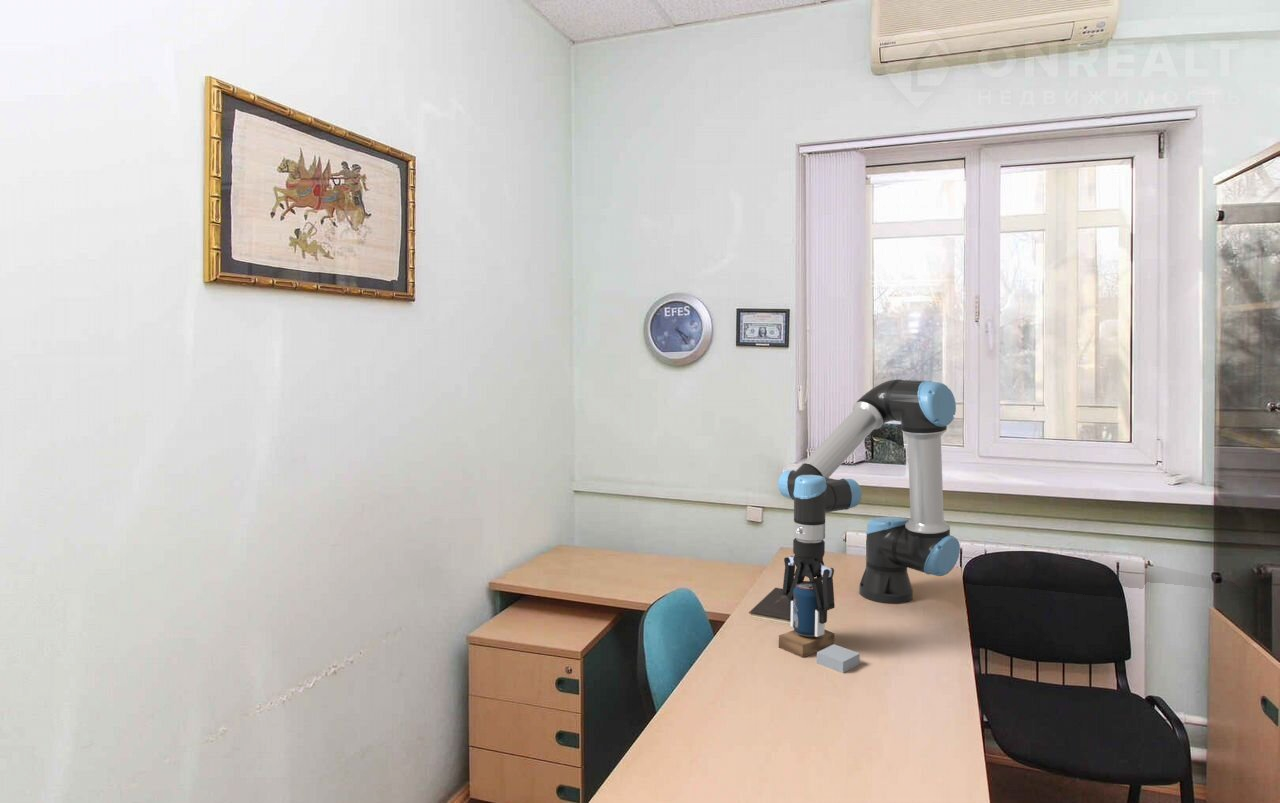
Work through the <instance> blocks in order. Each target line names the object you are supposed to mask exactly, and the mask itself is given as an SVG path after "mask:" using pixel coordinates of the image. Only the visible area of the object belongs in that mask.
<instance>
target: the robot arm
mask: <svg viewBox="0 0 1280 803" xmlns="http://www.w3.org/2000/svg"><path fill="white" fill-rule="evenodd" d="M956 412H957V403H956V399H955V396H954V392H952V390H951V388H949V387H948V385H946V384H944V383H943V382H938V381H937V382H936V381H931V380H917V379H916V380H914V379H911V380H909V379H891V380H887V381H884V382H881V383H880V384H877V385H876V386H874V387H873V388H871V389H870V390H869V391H867V392H865V393H864V394H863V395H862V396H861V397H860V398H859V399H857V401H856V402H855V403H854V404H853V405H852V411H851V412H850V414H848V416H847V417H845V419H844V420H843V421H842V422H841V423H840V424H839V425H838V426H837V427H836V429H835V428H834V430H833V432H832V433H830V435H828V436H827V438H826V439H824V441H823V442H822V443H821V444H820V445H819V446H818V447H817V448H816V449H815V450H814V451H813V452H812V453H811V454H810V456H808V457H807V459H805V461H803V463H802V464H801V465H800V466H799V467H798V468H797V469H796V470H795V469H792V470H790V469H788V470H786V471H783V472H782V473H781V475H780V476H779V478H778V482H777V487H778V488H777V489H778V491H779V494H780V495H781V496H783V497H785V498H787V499H790V500H792V501H793V537H794V539H793V540H792V541H793V542H792V546H793V547H792V552H793V554H794V555H790V556H786V557H784V558H783V560H784V575H783V584H782V589H783V591H782V594H783V595H784V596H785V595H786V596H787V597H788V599H789V612H791V623H790V627H791V628H793V590H794V588H795V587H796V583H798V584H799V583H801V582H803V581H805V580H804V579H805V577H806V578H808V581H810V582H811V583H812V586H813V590H814V594H815V598H816V602H817V606H818V609H816V610H815V636H816V637H818V636H821V635H824V629H825V625H826V623H827V621H828V611H829V610H833V609H835V594H834V593H835V592H834V583H833V582H834V581H833V578H834V574H835V569H834V568H833V567H828V566H827V565H825V563H824V556H825V550H826V549H825V547H826V545H825V544H826V543H825V538H826V514H827V513H831V512H838V511H847V510H849V509H852V508H856V507H857V506H858V505H859V504H860V502H861V500H862V496H863V495H862V494H863V493H862V488H861V486H860V485H859V483H858V482H857V481H856V480H854V479H852V478H845V477H844V478H841V479H835V478H832V477H831V476H832V475H833V474H834V473H835V472H836V471H837V470H838V468H839V467H841V465H842V464H843V463H844V462H845V461H846V460H847V459H848V458H849V456H850V455H851V454H853V452H854V451H855V450H857V448H858V447H859V446H860V445H861V444H862V443H863V442H864V440H865V439H866V438H867V437H868V436H869V435H870V434H871V433H873V431H874V430H878V429H880V428H882V426H883V425H884V424H885V423H888V422H894V421H896V422H900V426H901V428H900V429H901V432H902V433H903V434H905V435H906V436H907V457H908V480H909V481H908V482H909V483H908V484H909V486H908V488H909V508H910V511H909V512H910V519H908V518H906V517H901V516H900V517H899V516H883V517H876V518H871V519H870V520H869V521H868V523H867V527H866V528H867V529H866V533H865V534H866V542H865V543H866V545H865V546H866V550H865V552H866V553H865V570H864V572H863V574H862V576H861V579H860V582H859V586H858V587H859V588H858V592H859V595H860V596H862V597H863V598H865V599H868V600H870V601H874V602H879V603H884V604H902V603H903V604H905V603H907V602H910V601H912V600H913V594H914V590H913V586H912V584H911V580H910V577H909V573H908V569H910V570H911V569H912V570H915V571H918V572H920V573H924V574H925V575H929V576H930V575H932V576H936V577H943V576H946V575H947V574H949V573H951V571H952V570H953V569H954V567H955V566H956V565H957V562H958V560H959V557H960V553H961V546H960V545H961V544H960V541H959V540H958V539H957V537H955V536H953V535H951V526H950V524H949V523H948V522H947V521H945V520H944V491H943V488H944V487H943V463H942V462H943V458H942V456H943V455H942V436H943V434H944V433H945V432H946V431H947V429H948V428H947V426H948V425H950V424H952V422H953V421H954V419H955V415H956ZM830 477H831V478H830ZM822 604H823V605H822Z"/></svg>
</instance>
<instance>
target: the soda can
mask: <svg viewBox="0 0 1280 803" xmlns="http://www.w3.org/2000/svg"><path fill="white" fill-rule="evenodd" d="M816 609H818V606H817V602H816V598H815V594H814V590H813V586H812V583H811V582H810V580H804V581H803V582H801V583H799V584H798V583H796V587H795V588H794V590H793V627H792V628H793V630H795V632H796V633H797V634H799V635H802V636H808V637H811V636H815V610H816Z"/></svg>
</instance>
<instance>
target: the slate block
mask: <svg viewBox="0 0 1280 803" xmlns="http://www.w3.org/2000/svg"><path fill="white" fill-rule="evenodd" d="M860 653H861V652H857V651H854V650H852V649H849V648H845V647H843V646H840V645H837V644H835V643H834V644H833V645H831V646H829V647H827V648H825V649H823V650H820V651H818V652H816V664H817V665H820V666H823V667H825V668H828V669H830V670H832V671H836V672H839V673H841V674H844V673H847V672H848V671H849V670H851V669H853V668H856V667H857V666H858V665H860V660H861V658H860V657H861V654H860Z"/></svg>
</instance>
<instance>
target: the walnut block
mask: <svg viewBox="0 0 1280 803" xmlns="http://www.w3.org/2000/svg"><path fill="white" fill-rule="evenodd" d="M833 644H835V632H832V631H829V630H826V629H825V628H824V635H821V636H818V637H816V636H811V637H808V636H802V635H799V634H797V633H796V632H795V630H794V629H793V630H790V631H788V632H785V633H783V634H779V635H778V648H780V649H782V650H784V651H787V652H788V653H790V654H793V655H796V656H798V657H800V658H805V657H808V656H810V655H813V654H814V653H817V652H819V651H821V650H823V649H825V648H827V647H829V646H831V645H833Z"/></svg>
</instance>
